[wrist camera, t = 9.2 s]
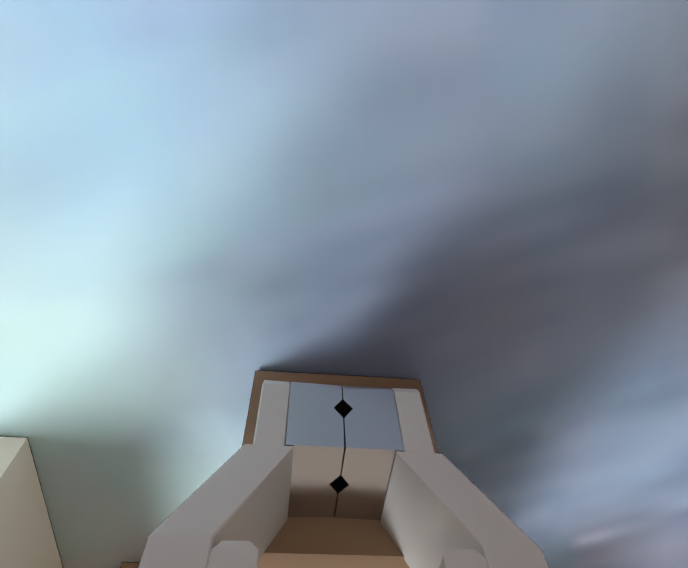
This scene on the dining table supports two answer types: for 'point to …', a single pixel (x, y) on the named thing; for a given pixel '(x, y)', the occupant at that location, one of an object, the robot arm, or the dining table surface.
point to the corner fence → (23, 511)
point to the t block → (329, 532)
